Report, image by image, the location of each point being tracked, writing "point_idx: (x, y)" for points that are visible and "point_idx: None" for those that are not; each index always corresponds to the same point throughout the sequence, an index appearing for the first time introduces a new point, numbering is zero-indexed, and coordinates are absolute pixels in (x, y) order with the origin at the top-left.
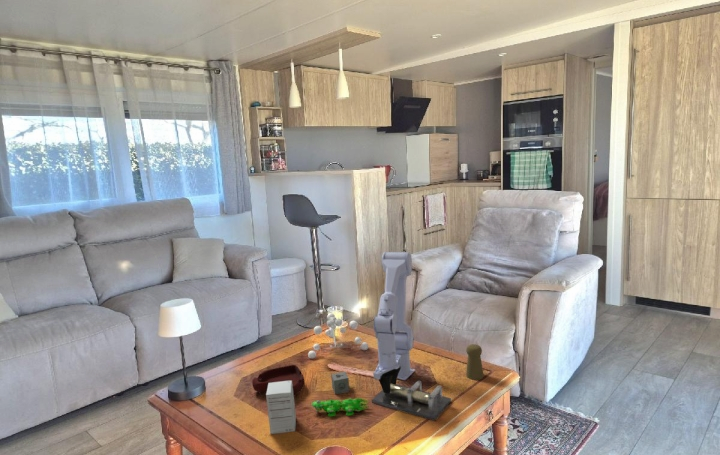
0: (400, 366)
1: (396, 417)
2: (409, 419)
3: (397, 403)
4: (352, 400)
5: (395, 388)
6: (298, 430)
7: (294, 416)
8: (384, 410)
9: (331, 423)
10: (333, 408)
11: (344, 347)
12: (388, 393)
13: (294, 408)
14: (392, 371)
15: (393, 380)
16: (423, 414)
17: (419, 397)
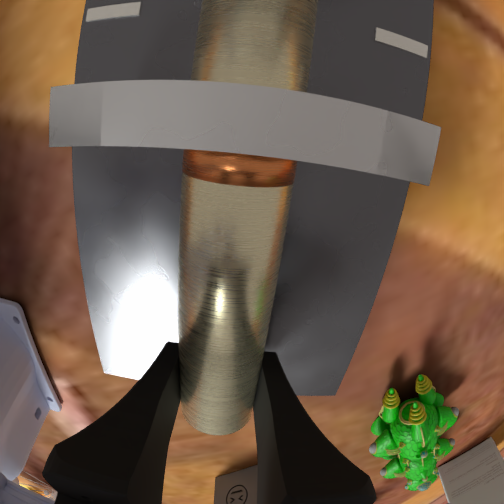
0: (46, 472)
1: (464, 195)
2: (467, 103)
3: (350, 244)
4: (425, 444)
5: (254, 343)
6: (489, 433)
7: (485, 468)
8: (403, 294)
9: (479, 406)
10: (445, 448)
11: (43, 482)
12: (276, 354)
13: (470, 487)
14: (148, 482)
15: (166, 400)
16: (432, 2)
17: (311, 37)
